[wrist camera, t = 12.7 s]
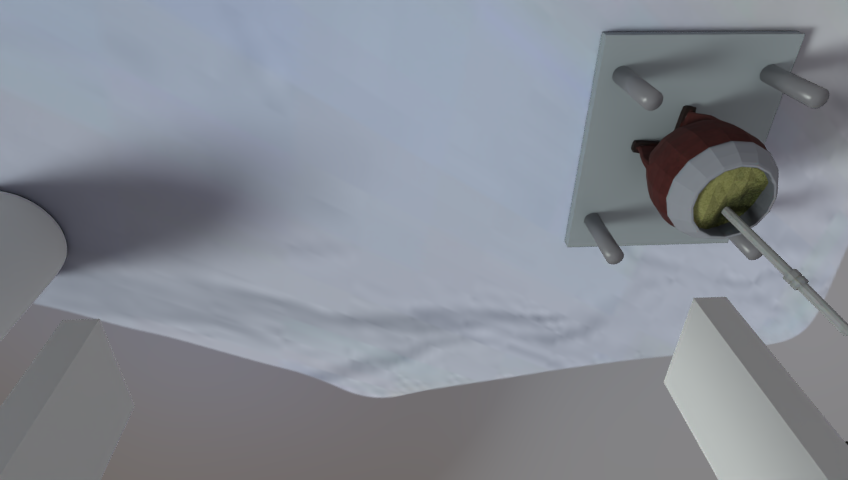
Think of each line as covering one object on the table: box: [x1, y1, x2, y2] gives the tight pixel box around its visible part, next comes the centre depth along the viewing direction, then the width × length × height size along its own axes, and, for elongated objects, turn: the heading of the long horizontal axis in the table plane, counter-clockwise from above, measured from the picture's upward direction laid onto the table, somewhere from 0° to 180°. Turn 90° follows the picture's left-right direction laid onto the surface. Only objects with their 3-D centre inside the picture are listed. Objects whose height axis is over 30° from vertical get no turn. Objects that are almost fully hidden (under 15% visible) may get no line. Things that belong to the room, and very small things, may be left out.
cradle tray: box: [565, 31, 829, 264], centre depth 38 cm, size 16×13×6 cm
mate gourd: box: [631, 105, 848, 336], centre depth 33 cm, size 8×8×15 cm
